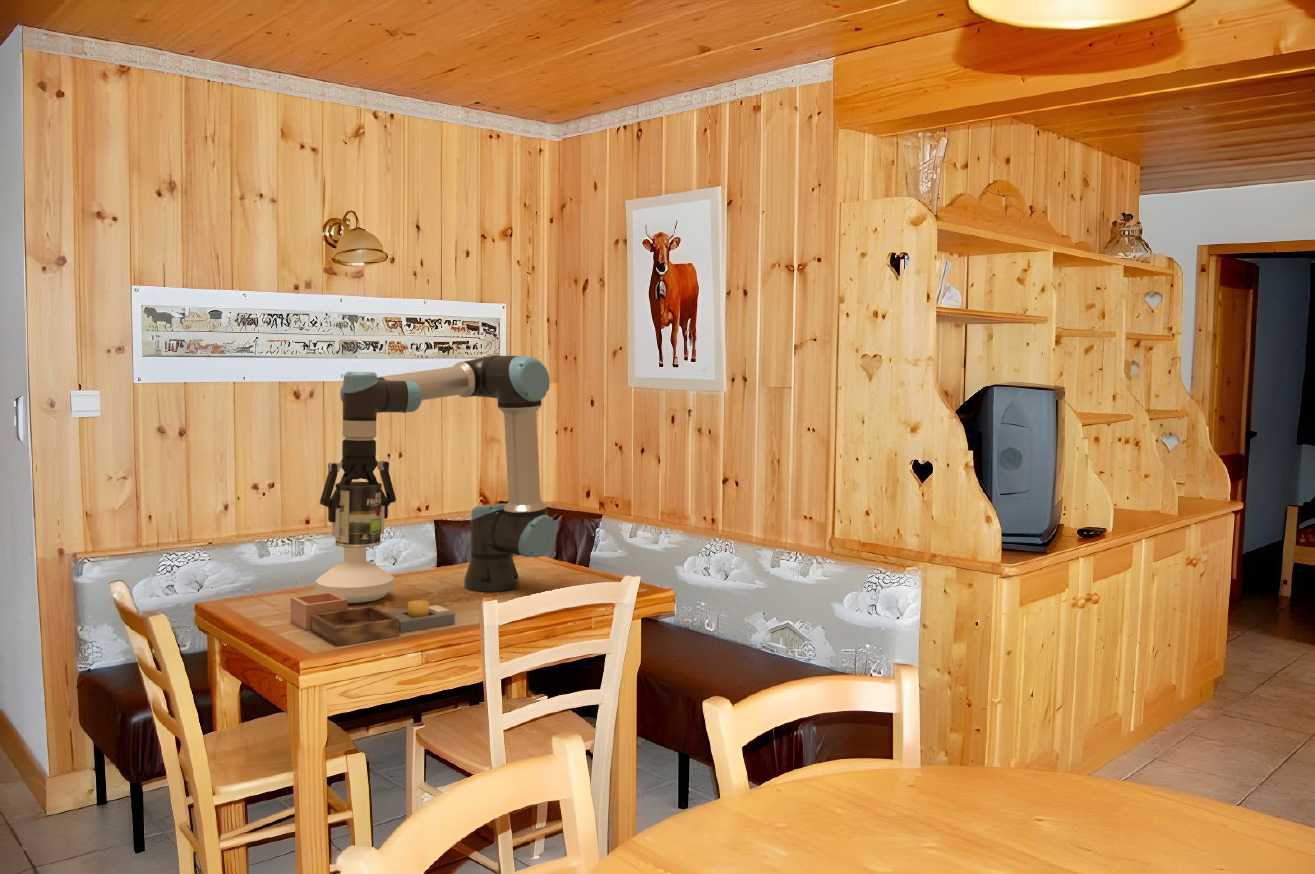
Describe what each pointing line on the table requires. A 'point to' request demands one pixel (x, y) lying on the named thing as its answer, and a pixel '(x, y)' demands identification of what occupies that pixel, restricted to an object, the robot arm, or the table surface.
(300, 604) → the terracotta square planter
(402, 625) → the base
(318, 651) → the table surface
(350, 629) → the dark wooden tray
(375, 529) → the coffee can
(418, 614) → the button
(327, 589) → the candle holder
